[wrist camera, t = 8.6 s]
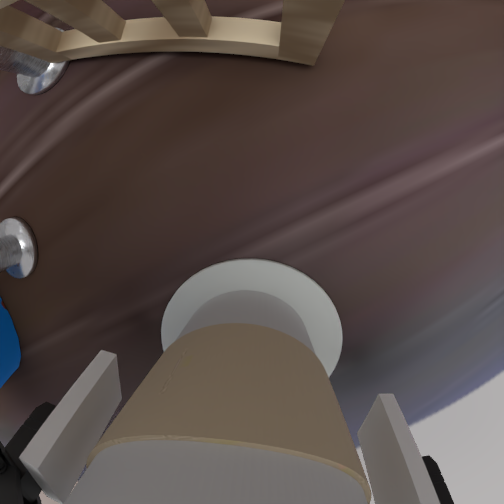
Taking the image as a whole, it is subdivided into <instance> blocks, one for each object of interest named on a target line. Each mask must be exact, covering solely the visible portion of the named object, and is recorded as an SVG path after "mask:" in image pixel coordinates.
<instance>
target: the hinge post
mask: <svg viewBox="0 0 504 504" xmlns="http://www.w3.org/2000/svg"><path fill="white" fill-rule="evenodd" d="M56 29H58V30H60V31H61V32H64V31H63V30H61V29H59V28H56ZM69 62H70V60H67V61H62V62H57V63H50V62H47V61H44V60H41V59H39V58H36V57H33V56H30V55H27V54H24V53H21V52H18V51H15V50H12V49H9V48H6V47H2V46H0V70H3V71H8V72H12V73H16V74H17V82H18V85H19V87H20V89H21V90H22V91H23V92H25V93H28V94H34V95H38V94H42V93H44V92H46V91H48V90H49V89H51V88H52V87H53V86H54V85H55V84H56V83H57V82H58V81H59V80H60V78H61V77H62V76H63V74H64V72H65V71H66V69H67V67H68V65H69Z"/></svg>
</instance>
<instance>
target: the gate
mask: <svg viewBox="0 0 504 504" xmlns="http://www.w3.org/2000/svg"><path fill="white" fill-rule="evenodd" d="M16 1H18V0H0V46H2V47H6V48H9V49H12V50H15V51H18V52H21V53H24V54H27V55H30V56H33V57H36V58H39V59H41V60H44V61H47V62H50V63H57V62H62V61H67V60H73V59H80V58H86V57H94V56H102V55H111V54H122V53H137V52H164V51H185V52H213V53H227V54H239V55H249V56H257V57H265V58H272V59H279V60H285V61H291V62H297V63H302V64H307V65H312V66H314V64H315V62H316V60H317V58H318V56H319V54H320V51H321V49H322V47H323V45H324V43H325V41H326V39H327V37H328V35H329V32H330V30H331V28H332V26H333V24H334V22H335V20H336V18H337V16H338V14H339V12H340V10H341V8H342V5H343V3H344V1H345V0H283V11H282V22H274V21H266V20H257V19H247V18H234V17H214V16H211V14H210V12H209V10H208V7H207V5H206V2H205V0H152V2H153V3H154V4H155V5H156V7H157V8H158V9H159V11H160V12H161V13H162V15H163V16H164V17H156V18H143V19H133V20H123V19H122V18H121V17H120V16H119V15H118V14H117V13H115V12H114V11H113V10H112V9H111V8H110V7H109V6H107V5H106V4H105V3H104V2H103V1H102V0H24V1H26V2H28V3H30V4H32V5H34V6H36V7H38V8H40V9H42V10H43V11H45V12H47V13H49V14H51V15H53V16H54V17H56V18H58V19H60V20H61V21H63V22H65V23H67V24H68V25H70V26H72V27H73V28H75V29H73V30H68V31H64V32H61V31H60V30H58V29H56V28H54V27H52V26H50V25H48V24H46V23H44V22H42V21H40V20H38V19H36V18H34V17H32V16H30V15H28V14H26V13H23V12H21V11H19V10H17V9H15V8H12V7H10V6H8V5H10V4H12V3H14V2H16Z"/></svg>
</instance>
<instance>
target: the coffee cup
mask: <svg viewBox="0 0 504 504" xmlns="http://www.w3.org/2000/svg"><path fill="white" fill-rule="evenodd" d="M86 466H87V470H86V471H85V473H84V474H83V476H82V477H81V479H80V480H79V482H78V483H77V485H76V486H75V488H74V489H73V491H72V492H71V494H70V495H69V497H68V498H67V500H66V501H65V503H64V504H370V500H371V490H370V487H369V484H368V481H367V478H366V476H365V473H364V470H363V467H362V465H361V462H360V459H359V456H358V454H357V451H356V448H355V446H354V443H353V440H352V438H351V435H350V432H349V430H348V427H347V424H346V422H345V419H344V416H343V414H342V411H341V409H340V406H339V403H338V401H337V398H336V396H335V393H334V391H333V388H332V385H331V383H330V380H329V378H328V375H327V373H326V370H325V368H324V366H323V364H322V363H321V361H320V360H319V358H318V357H317V356H316V354H315V351H314V348H313V346H312V343H311V340H310V337H309V335H308V332H307V329H306V327H305V324H304V322H303V321H302V319H301V317H300V316H299V315H298V313H297V312H296V311H295V310H294V309H293V308H292V307H291V306H290V305H288V304H287V303H286V302H284V301H283V300H281V299H279V298H277V297H275V296H273V295H270V294H267V293H263V292H259V291H252V290H238V291H231V292H227V293H223V294H220V295H218V296H216V297H214V298H212V299H210V300H208V301H207V302H205V303H204V304H203V305H202V306H201V307H199V308H198V310H197V311H196V312H195V313H194V314H193V316H192V317H191V319H190V320H189V321H188V323H187V324H186V326H185V327H184V329H183V330H182V331H181V333H180V334H179V336H178V337H177V339H176V340H175V341H174V342H173V343H172V344H171V345H170V346H169V347H168V348H167V349H166V350H165V351H164V353H163V354H162V355H161V357H160V358H159V359H158V361H157V362H156V364H155V365H154V366H153V368H152V369H151V370H150V372H149V373H148V374H147V376H146V377H145V378H144V380H143V381H142V383H141V384H140V385H139V387H138V388H137V389H136V391H135V392H134V393H133V395H132V396H131V398H130V399H129V400H128V402H127V403H126V404H125V406H124V407H123V408H122V410H121V411H120V413H119V414H118V415H117V417H116V418H115V419H114V421H113V422H112V424H111V425H110V426H109V428H108V429H107V430H106V432H105V433H104V435H103V436H102V437H101V439H100V440H99V441H98V443H97V444H96V446H95V447H94V448H93V450H92V451H91V453H90V454H89V456H88V458H87V464H86Z"/></svg>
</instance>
